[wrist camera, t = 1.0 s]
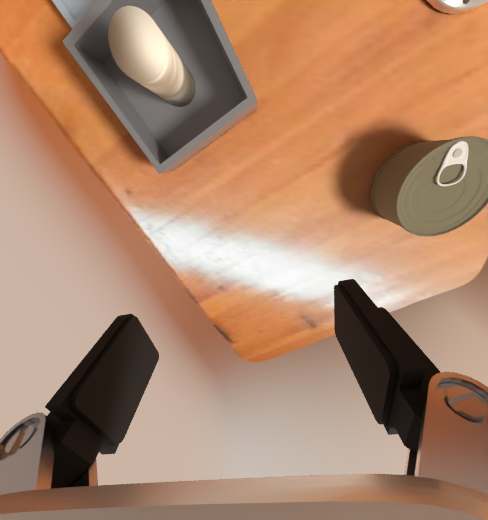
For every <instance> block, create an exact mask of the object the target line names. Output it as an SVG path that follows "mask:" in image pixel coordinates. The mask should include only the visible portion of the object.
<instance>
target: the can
mask: <svg viewBox="0 0 488 520" xmlns="http://www.w3.org/2000/svg"><path fill="white" fill-rule="evenodd" d="M370 195H371V203H372V206H373V208H374V210H375V211H376V213H377V214H378V215H380V216H381V217H383V218H384V219H387V220H389V221H391V222H393V223H395V224H397V225H399V226H401V227H403V228H404V229H405V230H406V231H408V232H410V233H412V234H415V235H419V236H437V235H441V234H445V233H448V232H450V231H453V230H455V229H457V228H459V227H461V226H462V225H464V224H466V223H467V222H469V221H470V220H471V219H473V218H474V217H475V216H476V215H477V214H478V213H479V212H480V211H481V210H482V209H483V208H484V207H485V206H486V205H487V204H488V140H487V139H484V138H480V137H460V138H455V139H452V140H440V141H429V142H417V143H413V144H410V145H408V146H405V147H403V148H401V149H400V150H398V151H397V152H395V153H394V154H393V155H391V156H390V157H389V158H388V159H387V160H386V161H385V162H384V163H383V165H382V166H381V167H380V169H379V170H378V172H377V174H376V176H375V178H374V180H373V183H372V187H371V194H370Z"/></svg>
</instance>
